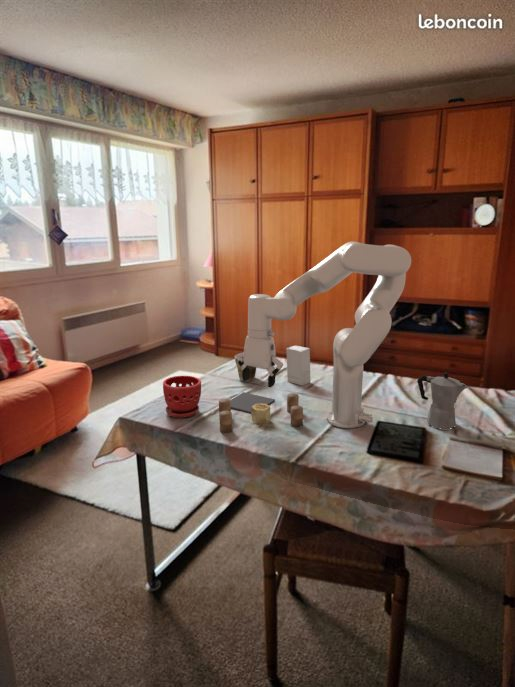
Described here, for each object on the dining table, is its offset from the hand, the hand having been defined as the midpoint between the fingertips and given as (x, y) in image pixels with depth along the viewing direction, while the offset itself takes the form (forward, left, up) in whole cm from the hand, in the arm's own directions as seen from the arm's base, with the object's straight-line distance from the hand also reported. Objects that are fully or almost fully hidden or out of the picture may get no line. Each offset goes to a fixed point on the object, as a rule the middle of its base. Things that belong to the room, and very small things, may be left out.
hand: (258, 383), depth 151 cm
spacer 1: (+11, +4, -14) cm, 18 cm away
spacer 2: (+5, +12, -14) cm, 19 cm away
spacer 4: (-13, -3, -14) cm, 19 cm away
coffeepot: (-53, -27, -14) cm, 61 cm away
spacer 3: (-7, -12, -14) cm, 19 cm away
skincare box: (+4, -39, -14) cm, 42 cm away
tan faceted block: (-1, 0, -14) cm, 14 cm away
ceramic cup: (+24, -31, -14) cm, 42 cm away
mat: (+10, -10, -13) cm, 20 cm away
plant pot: (+26, +8, -14) cm, 31 cm away
